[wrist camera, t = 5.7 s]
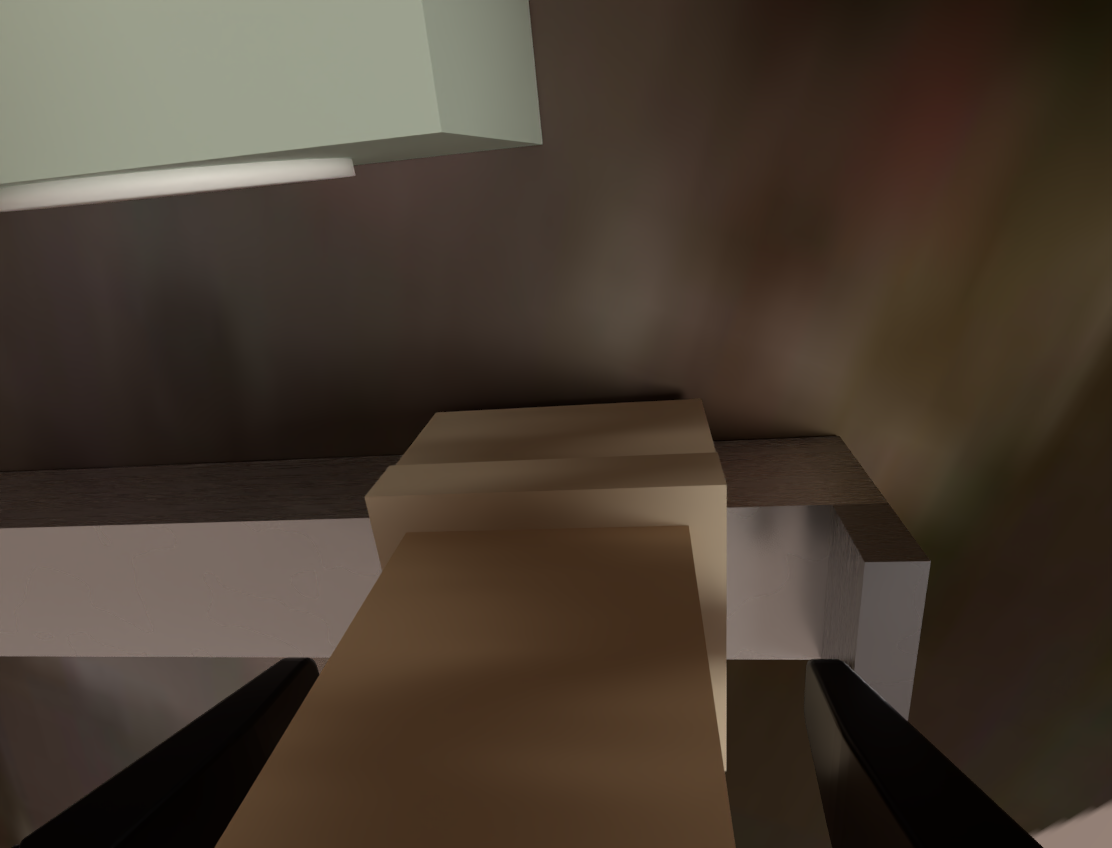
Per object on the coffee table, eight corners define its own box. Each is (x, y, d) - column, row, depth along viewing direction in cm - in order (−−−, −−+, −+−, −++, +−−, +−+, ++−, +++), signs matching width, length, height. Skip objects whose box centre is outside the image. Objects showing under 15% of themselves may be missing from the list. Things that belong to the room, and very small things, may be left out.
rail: (839, 435, 12) (931, 561, 8) (829, 571, 13) (906, 734, 9) (-111, 476, 15) (-355, 582, 11) (-52, 583, 16) (-256, 711, 12)
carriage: (700, 393, 12) (837, 883, 4) (704, 624, 14) (800, 1264, 6) (435, 407, 12) (87, 845, 4) (475, 625, 14) (280, 1194, 6)
